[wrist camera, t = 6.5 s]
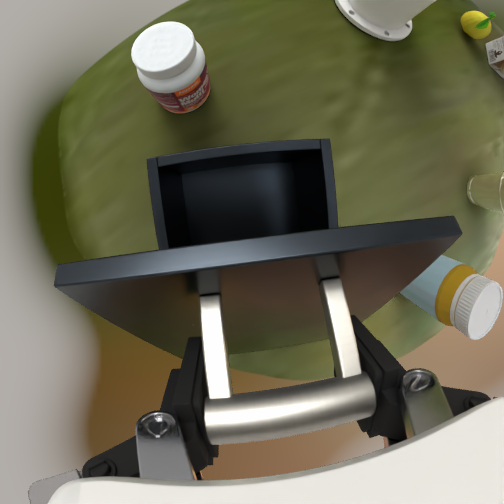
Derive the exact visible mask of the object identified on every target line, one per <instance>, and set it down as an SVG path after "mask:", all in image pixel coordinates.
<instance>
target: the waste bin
mask: <svg viewBox="0 0 504 504" xmlns="http://www.w3.org/2000/svg"><path fill="white" fill-rule="evenodd" d="M147 169H148V178H149V186H150V194H151V202H152V209H153V216H154V223H155V229H156V235H157V241H158V247H159V250H161V249H169V248H176V247H184V246H191V245H199V244H207V243H214V242H222V241H230V240H238V239H246V238H254V237H262V236H270V235H279V234H287V233H295V232H304V231H313V230H321V229H330V228H338V216H337V202H336V190H335V179H334V170H333V160H332V152H331V144H330V139H305V140H286V141H271V142H259V143H249V144H239V145H230V146H222V147H214V148H207V149H200V150H194V151H187V152H181V153H175V154H170V155H164V156H159V157H154V158H149V159H147Z"/></svg>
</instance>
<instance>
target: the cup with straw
mask: <svg viewBox="0 0 504 504" xmlns="http://www.w3.org/2000/svg"><path fill="white" fill-rule="evenodd" d="M467 196H468V199H469V201H470V202H471V203H472V204H474V205H478V206H480V207H483V208H486V209H489V210H492V211H495V212H498V213H501V214H503V215H504V171H503V172H500V173H492V174H484V175H477V176H471V177H470V178H469V180H468V182H467Z"/></svg>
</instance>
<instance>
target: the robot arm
mask: <svg viewBox="0 0 504 504" xmlns="http://www.w3.org/2000/svg"><path fill="white" fill-rule="evenodd" d="M435 1H436V0H335V2H336V5H337V6H338V8H339V10H340V11H341V12H342V13H343V15H344V16H345V17H346V18H347V19H348V20H349V21H350V22H352V23H353V24H354V25H355V26H357V27H358V28H360V29H361V30H363V31H364V32H366V33H368V34H370V35H372V36H374V37H377V38H379V39H383V40H387V41H399V40H402V39H404V38H405V37H407V36H408V35H409V34H410V32H411V30H412V20H411V19H412V18H413V17H415V16H416V15H417V14H419V13H420V12H421V11H423V10H424V9H425V8H427V7H428V6H429V5H431V4H432V3H433V2H435ZM350 317H351V321H352V326H353V330H354V335H355V339H356V344H357V348H358V353H359V358H360V363H361V368H362V371H365V372H367V373H368V374H369V375H370V377H371V379H372V381H373V383H374V386H375V390H376V396H377V407H376V411H375V413H374V414H373V415H372V416H370V417H367V418H364V419H360V420H357V422H358V424H359V426H360V428H361V430H362V431H363V432H367V434H368V435H369V437H370V438H371V437H374V436H377V435H380V436H384V445H385V448H383V449H381V450H378V451H375V452H372V453H369V454H366V455H363V456H359V457H356V458H353V459H349V460H346V461H342V462H339V463H335V464H331V465H327V466H322V467H318V468H313V469H309V470H304V471H299V472H293V473H287V474H280V475H274V476H267V477H257V478H247V479H234V480H204V478H203V475H202V472H201V470H202V469H204V468H205V467H206V466H207V465H213V457H218V446H219V445H212V444H210V443H209V441H208V439H207V437H206V434H205V429H204V424H203V402H204V398H205V397H207V396H208V392H207V384H206V375H205V365H204V355H203V345H202V336H199V337H189V338H188V341H187V345H186V349H185V353H184V357H183V361H182V365H181V369H172V370H171V373H170V376H169V379H168V383H167V386H166V390H165V394H164V397H163V401H162V405H161V408H160V410H159V411H152V412H149V413H147V414H145V415H143V416H142V417H141V418H140V419H139V420H138V422H137V423H136V428H135V429H136V436H134V437H132V438H130V439H129V440H126V441H125V442H123V443H121V444H119V445H117V446H115V447H113V448H112V449H109V450H107V451H105V452H103V453H101V454H99V455H97V456H95V457H93V458H91V459H90V460H88V461H87V462H86V463H85V465H84V466H83V469H82V471H80V472H79V471H78V470H77V469H75V470H72V471H69V472H66V473H63V474H60V475H56V476H53V477H50V478H46V479H43V480H39V481H36V482H34V483H33V484H32V485H31V486H30V488H29V491H28V494H29V500H30V504H504V396H502V397H494V398H493V399H492V400H491V399H490V398H489V397H488V396H487V395H486V394H484V393H481V392H476V391H469V390H462V389H454V388H449V387H443V386H441V385H440V383H439V381H438V379H437V377H436V375H435V374H434V373H432V372H431V371H429V370H426V369H421V368H419V369H411V370H408V371H406V370H405V369H404V368H403V367H402V366H401V365H400V364H399V362H398V361H397V360H396V359H395V358H394V357H393V356H392V354H391V353H390V352H389V351H388V350H387V349H386V348H385V347H384V345H383V344H382V343H381V342H380V341H379V340H376V338H375V337H374V336H373V335H372V334H371V333H370V332H369V330H368V329H367V328H366V327H365V326H364V325H363V324H362V323H361V322H360V320H359V319H358V318H357V317H356V316H355V315H350ZM334 376H335V377H336V371H335V366H334Z"/></svg>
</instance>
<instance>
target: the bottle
mask: <svg viewBox="0 0 504 504" xmlns="http://www.w3.org/2000/svg"><path fill="white" fill-rule="evenodd" d="M399 293H400V294H402V295H403V296H404V297H406V298H407V299H409V300H410V301H412V302H413V303H415V304H416V305H417V306H419V307H420V308H422V309H423V310H425V311H426V312H427V313H429V314H430V315H432V316H433V317H434V318H436V319H437V320H439V321H440V322H442V323H443V324H445V325H448V326H454V327H455V328H457V329H458V330H459V331H461V332H462V333H464V334H465V335H466V336H468V337H469V338H471V339H473V340H477V339H480V338H482V337H483V336H485V335H486V334H487V333H488V332H489V331H490V329H491V328H492V327H493V325H494V323H495V322H496V320H497V318H498V315H499V313H500V310H501V306H502V301H503V292H502V288H501V286H500V285H499V284H498V283H497V282H495V281H493V280H491V279H489V278H486V277H483V276H481V275H479V274H477V272H476V271H475V270H474V269H473V268H472V267H470V266H468V265H466V264H464V263H461V262H459V261H456V260H454V259H451V258H449V257H446V256H443V255H441V256H440V257H439V258H438V259H437V260H436V261H434V262H433V263H432V264H431V265H430V266H429V267H428V268H427V269H426V270H425V271H424V272H422V273H421V274H420V275H419V276H418V277H417V278H416V279H415V280H413V281H412V282H411V283H410V284H409V285H408V286H406V287H405V288H404V289H403V290H402V291H401V292H399Z"/></svg>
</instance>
